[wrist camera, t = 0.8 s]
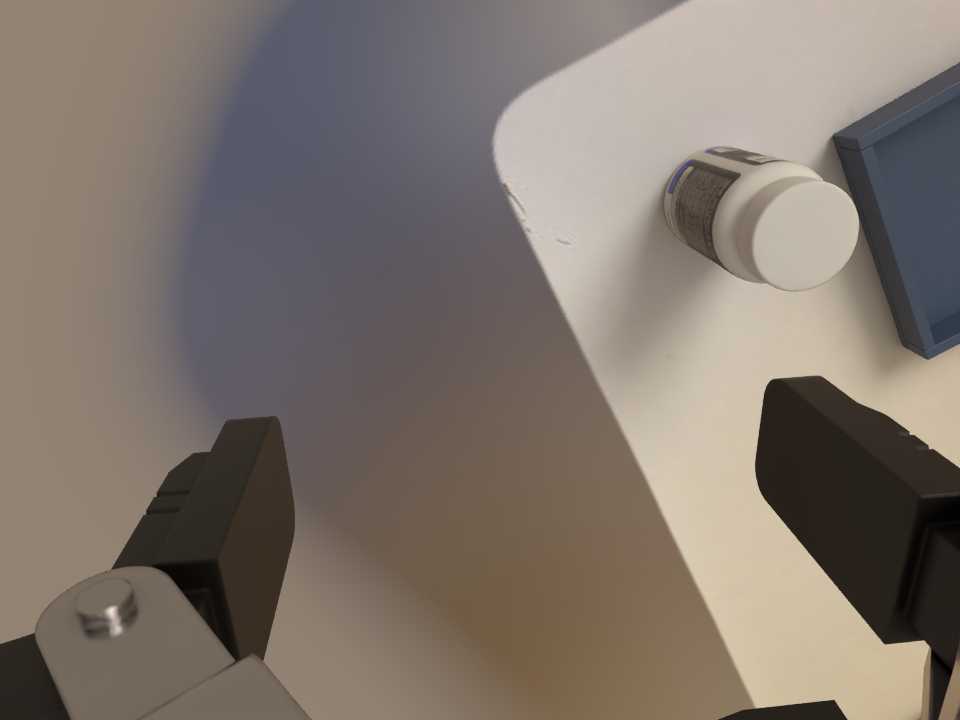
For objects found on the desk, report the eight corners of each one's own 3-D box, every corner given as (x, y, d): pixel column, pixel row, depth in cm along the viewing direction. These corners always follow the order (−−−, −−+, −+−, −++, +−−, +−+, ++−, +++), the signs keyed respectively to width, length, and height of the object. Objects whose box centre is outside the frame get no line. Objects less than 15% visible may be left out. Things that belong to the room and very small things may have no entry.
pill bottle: (690, 266, 34) (773, 327, 26) (644, 185, 32) (718, 223, 24) (778, 209, 33) (890, 254, 25) (735, 122, 31) (842, 142, 24)
